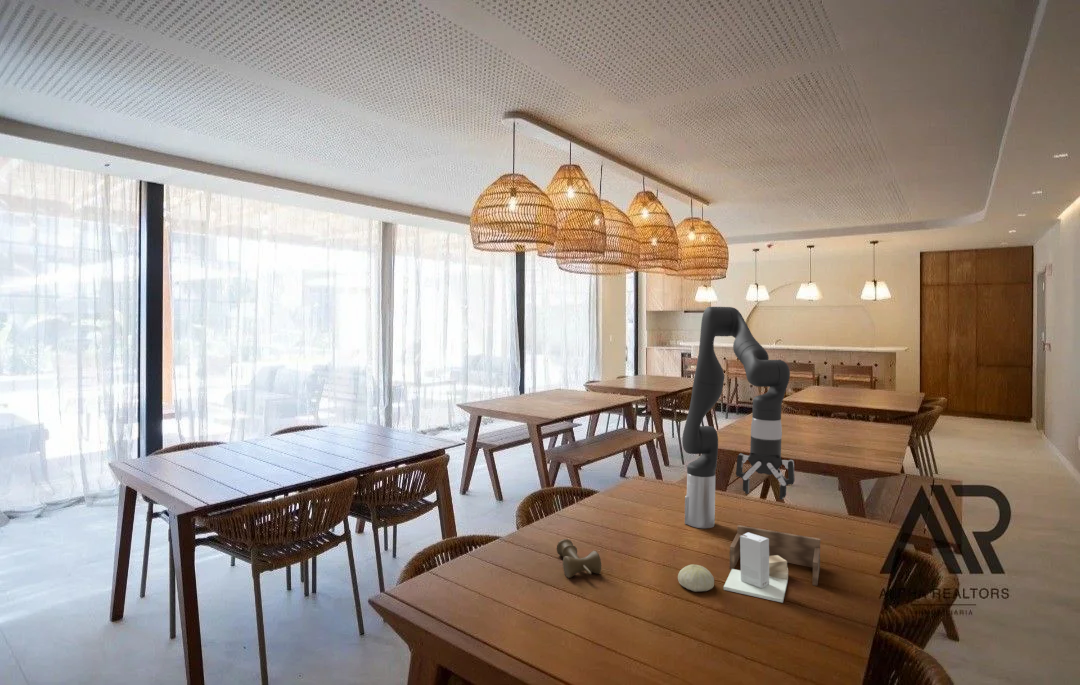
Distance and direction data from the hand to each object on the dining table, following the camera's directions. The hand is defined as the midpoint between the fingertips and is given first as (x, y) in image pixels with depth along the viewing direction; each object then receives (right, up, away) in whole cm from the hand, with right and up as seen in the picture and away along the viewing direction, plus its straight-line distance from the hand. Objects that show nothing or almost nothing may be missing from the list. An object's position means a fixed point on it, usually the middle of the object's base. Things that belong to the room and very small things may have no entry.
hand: (764, 495), depth 150 cm
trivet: (-3, -23, -3) cm, 23 cm away
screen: (+6, -22, +7) cm, 24 cm away
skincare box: (-4, -22, -3) cm, 22 cm away
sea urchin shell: (-19, -23, -3) cm, 30 cm away
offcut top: (+3, -20, +3) cm, 21 cm away
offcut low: (+3, -23, +3) cm, 23 cm away
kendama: (-49, -22, +7) cm, 54 cm away
